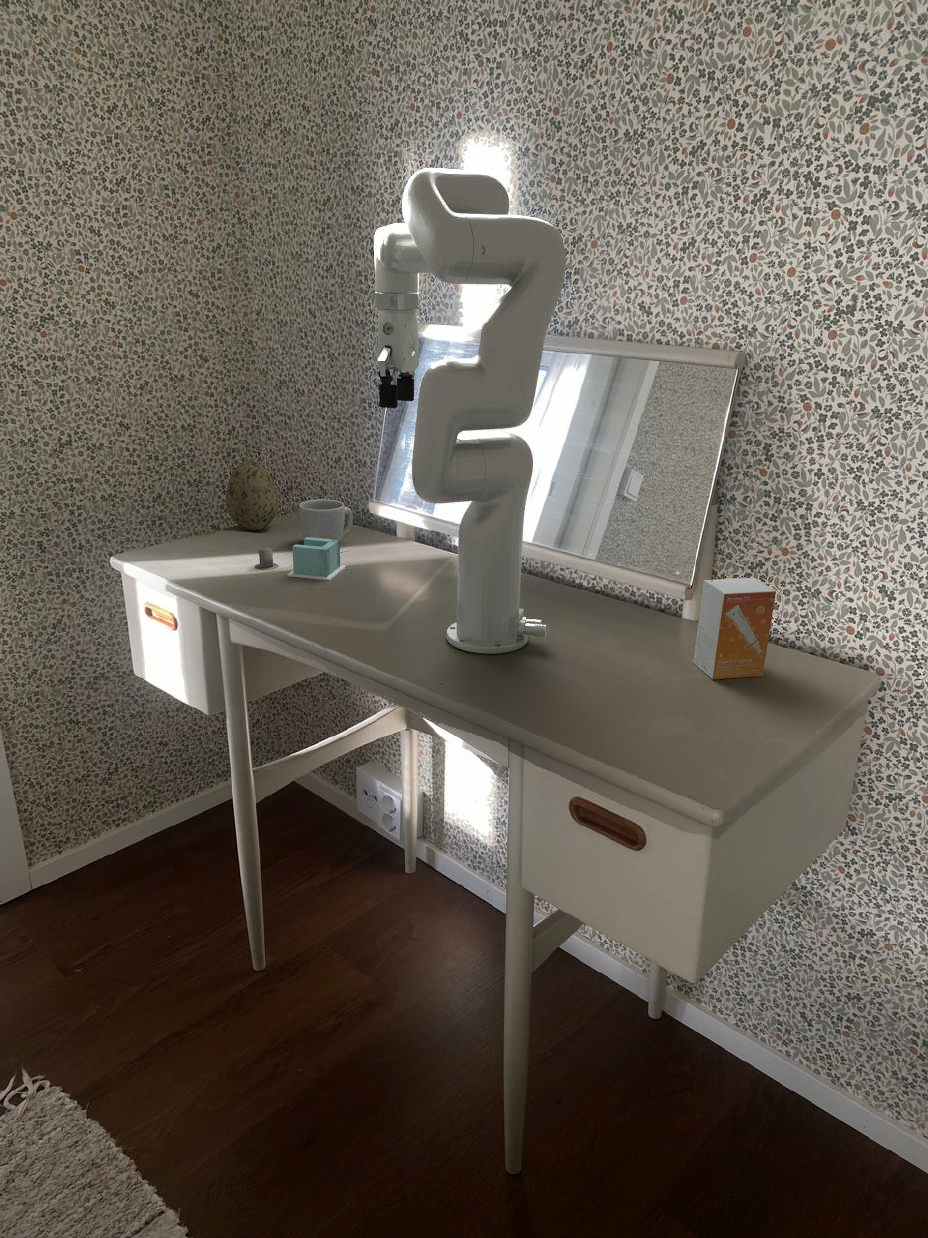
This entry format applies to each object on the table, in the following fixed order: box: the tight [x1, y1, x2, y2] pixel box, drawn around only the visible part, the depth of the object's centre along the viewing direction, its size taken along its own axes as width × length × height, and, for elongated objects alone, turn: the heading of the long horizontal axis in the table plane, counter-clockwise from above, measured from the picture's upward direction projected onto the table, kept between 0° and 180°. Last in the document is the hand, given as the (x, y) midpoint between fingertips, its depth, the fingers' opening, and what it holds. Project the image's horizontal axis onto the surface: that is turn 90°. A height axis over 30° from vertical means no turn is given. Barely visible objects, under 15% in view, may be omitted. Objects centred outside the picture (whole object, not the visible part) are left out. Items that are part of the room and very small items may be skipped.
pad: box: [287, 564, 347, 582], centre depth 168 cm, size 8×8×1 cm
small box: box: [693, 577, 777, 680], centre depth 132 cm, size 8×6×13 cm
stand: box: [254, 547, 280, 571], centre depth 169 cm, size 20×12×5 cm, turn 76°
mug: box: [298, 498, 354, 542], centre depth 184 cm, size 12×9×10 cm
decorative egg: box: [225, 459, 279, 532], centre depth 196 cm, size 11×11×15 cm
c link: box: [291, 537, 341, 577], centre depth 167 cm, size 6×6×5 cm
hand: (397, 403), depth 167 cm, fingers open, 9 cm apart
